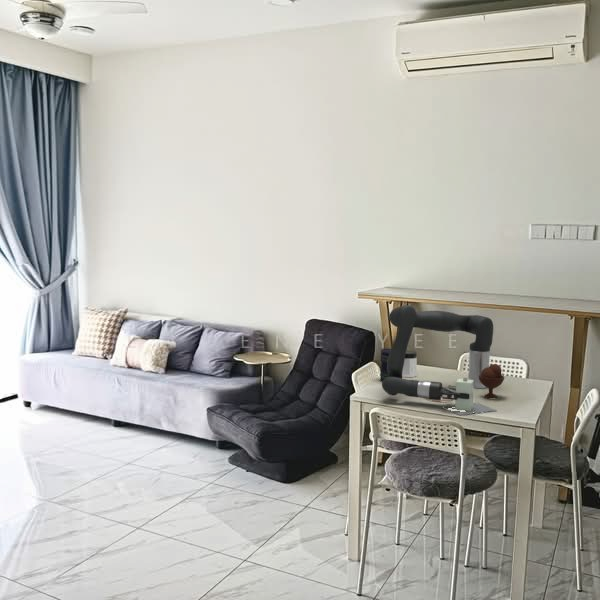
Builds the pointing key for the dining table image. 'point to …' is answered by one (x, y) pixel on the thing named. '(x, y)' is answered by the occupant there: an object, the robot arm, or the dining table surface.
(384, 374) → the storage jar
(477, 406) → the mat
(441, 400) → the saucer
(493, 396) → the ice cream bowl
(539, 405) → the dining table surface
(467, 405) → the tall green carton
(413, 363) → the jar
